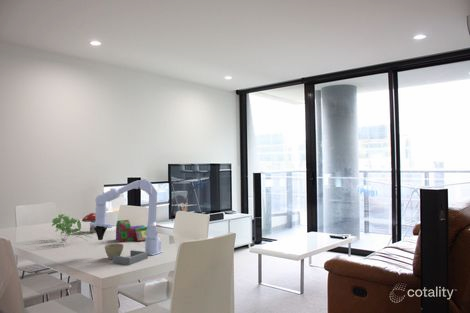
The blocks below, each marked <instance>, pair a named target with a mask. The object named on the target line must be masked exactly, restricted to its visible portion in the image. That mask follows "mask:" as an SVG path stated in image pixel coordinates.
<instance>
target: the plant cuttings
mask: <svg viewBox="0 0 470 313" xmlns="http://www.w3.org/2000/svg"><path fill="white" fill-rule="evenodd" d="M51 223H52V225H51V227H54V226H55V228H56V229H55V233H57V232H58V231H60V235H62V234H65V235H66V237H64V238H63V237H61V239H60V241H61V242H63V243H65V242H66V240H67V239H68V238H69V236H70V235H71V234H72V235H74V236H75V237H78V238H79V235H77V233H82V234H83V235H84V236H86V237H88V238H91V239H92V238H93V237H92V236H89V235H87V234H85V233H83V232H82V231H81V229H82V222H81V221H80V219H76V218H74V217H70V216H69V215H66V214H65V213H64V214H61V213H60V214H58V217H56V218H53V219H52V222H51ZM75 225H77V226H76V227H75ZM71 227H73V228H74V229H73V228H71ZM81 239H83V240H84V241H87V242H88V240H87V239H85V238H83V237H81Z"/></svg>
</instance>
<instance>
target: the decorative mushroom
mask: <svg viewBox="0 0 470 313" xmlns="http://www.w3.org/2000/svg"><path fill="white" fill-rule="evenodd" d="M95 220H96V212H90V213H89V214H87V215H85V216H84V217H83V218H82V219H81V221H82V222H83V223H95ZM94 228H96V227H95V226H90V225H89V233H96V231H95V230H94Z"/></svg>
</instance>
